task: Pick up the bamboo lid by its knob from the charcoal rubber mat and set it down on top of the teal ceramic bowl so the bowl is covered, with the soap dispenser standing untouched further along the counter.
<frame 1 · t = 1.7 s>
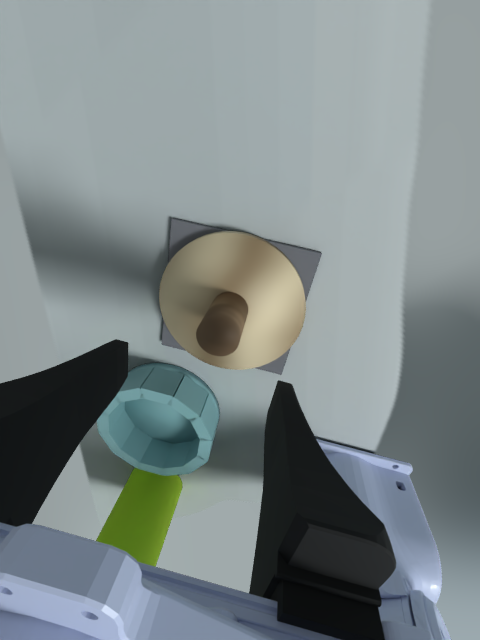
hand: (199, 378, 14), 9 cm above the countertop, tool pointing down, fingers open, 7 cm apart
soap dispenser: (161, 481, 33), on the countertop
mat: (232, 302, 22), on the countertop
lid: (232, 304, 21), resting on mat
bowl: (168, 406, 27), on the countertop
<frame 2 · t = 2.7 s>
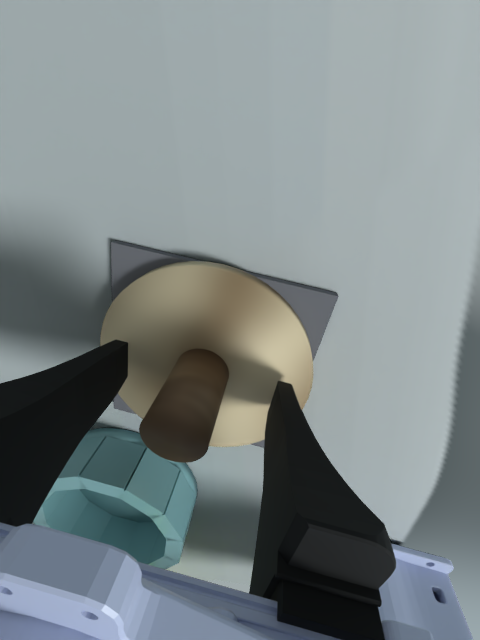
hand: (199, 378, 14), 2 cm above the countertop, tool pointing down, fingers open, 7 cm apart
mat: (208, 357, 15), on the countertop
lid: (206, 361, 15), resting on mat
bowl: (131, 477, 21), on the countertop
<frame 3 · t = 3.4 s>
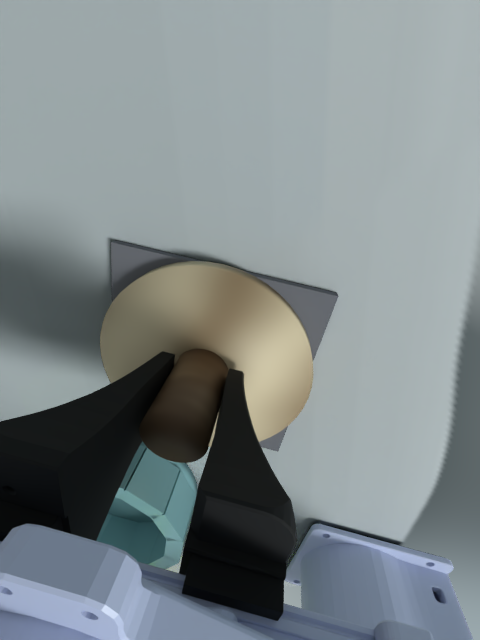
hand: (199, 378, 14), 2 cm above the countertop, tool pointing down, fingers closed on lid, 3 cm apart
mat: (208, 357, 15), on the countertop
lid: (206, 361, 15), resting on mat, touching gripper
bowl: (131, 477, 21), on the countertop
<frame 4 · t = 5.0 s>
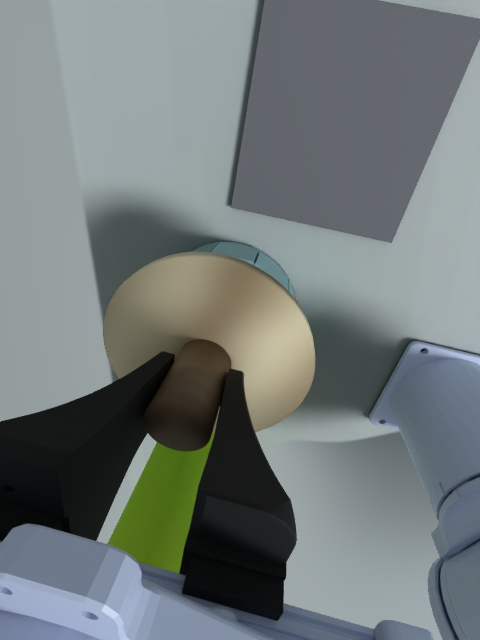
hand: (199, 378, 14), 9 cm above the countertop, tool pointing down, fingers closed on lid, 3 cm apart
soap dispenser: (208, 419, 28), on the countertop
mat: (336, 130, 16), on the countertop
lid: (209, 352, 15), point 7 cm above the countertop, touching gripper
bowl: (229, 308, 22), on the countertop
when the fingers open (6 cm above the countertop, at t = 6.3 s): lid stays where it is, resting on bowl.
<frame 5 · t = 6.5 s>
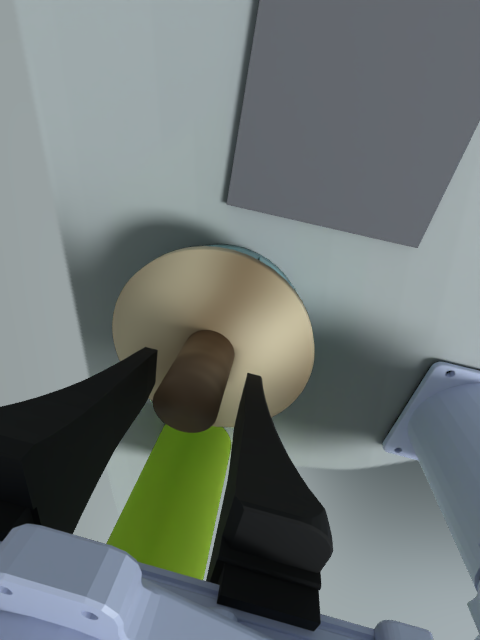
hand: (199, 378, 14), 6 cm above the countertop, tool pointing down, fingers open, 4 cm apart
soap dispenser: (201, 441, 25), on the countertop
mat: (355, 110, 13), on the countertop
lid: (213, 344, 16), point 3 cm above the countertop, touching bowl
bowl: (224, 320, 19), on the countertop
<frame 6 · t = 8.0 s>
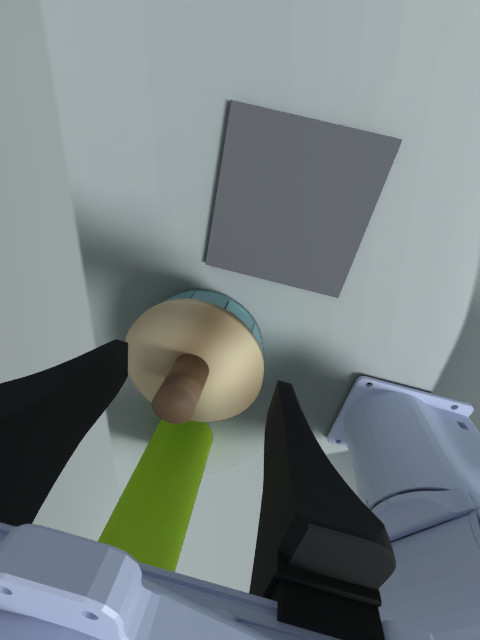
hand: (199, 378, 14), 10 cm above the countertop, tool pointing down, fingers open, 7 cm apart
soap dispenser: (189, 434, 31), on the countertop
mat: (290, 209, 19), on the countertop
lid: (194, 362, 22), point 3 cm above the countertop, touching bowl
bowl: (205, 342, 25), on the countertop
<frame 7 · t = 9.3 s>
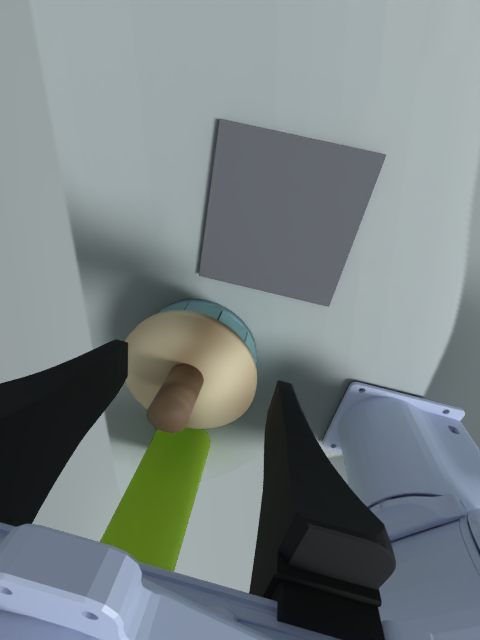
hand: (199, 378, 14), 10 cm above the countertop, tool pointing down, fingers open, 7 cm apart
soap dispenser: (187, 440, 32), on the countertop
mat: (280, 222, 20), on the countertop
lid: (189, 371, 22), point 3 cm above the countertop, touching bowl
bowl: (201, 350, 26), on the countertop
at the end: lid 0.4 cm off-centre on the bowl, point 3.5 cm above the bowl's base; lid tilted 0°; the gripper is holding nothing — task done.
